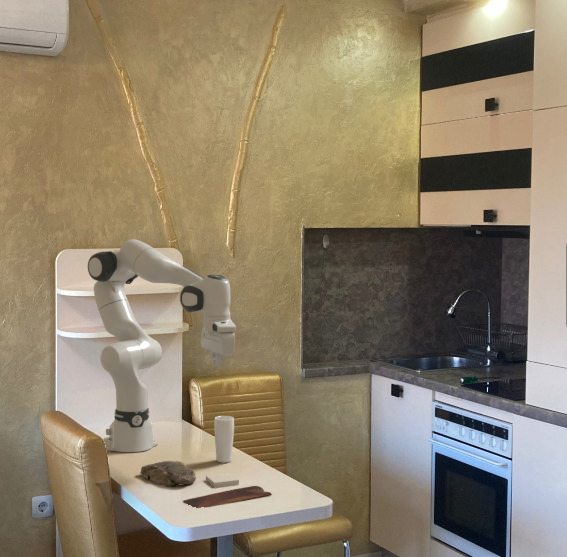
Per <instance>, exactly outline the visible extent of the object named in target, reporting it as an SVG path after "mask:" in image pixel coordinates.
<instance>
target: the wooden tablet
mask: <svg viewBox="0 0 567 557" xmlns="http://www.w3.org/2000/svg"><path fill="white" fill-rule="evenodd" d="M270 496H272V493H271V492H270V491H265V490H264V489H263V488H262V486H259V485H251V486H250V485H249V486H246V487H240V488H235V489H230V490H225V491H220V492H215V493H210V494H206V495H201V496H196V497H192V498H188V499H184V500H182V502H183V503H184V504H185V503H186V504H188V505H187V506H189V505H191V506H192V507H191V506H190V507H191V508H194V507H196V508H195V509H202V508H201V507H204V508H203V509H205V508H212V507H216V506H223V505H227V504H231V503H237V502H238V503H239V502H242V501H243V502H244V501H248V500H255V499H259V498H260V499H261V498H266V497H270ZM186 504H185V505H186Z"/></svg>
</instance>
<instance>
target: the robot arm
mask: <svg viewBox="0 0 567 557" xmlns="http://www.w3.org/2000/svg"><path fill="white" fill-rule="evenodd" d="M87 272H88V274H89V276H90V277H91V278H92V280H94V281H96V282H95V283H94V285H93V293H94V298H95V299H94V300H95V303H96V307H97V311H98V313H99V315H100V318H101V320H102V324H103V325H104V326H103V327H104V328H105V330H106V333H108V334H110V335H112V336H114V337H115V338H116V339H117V340H118V342H113V343H111V344H109V345H106V346H105V347H104V348H102V350H101V353H100V364H101V366H102V368H103V369H104V370H105V371H106V372H107V373H108V374H109V375H110V376H111V378H112V380H113V383H114V386H115V396H116V397H115V400H116V401H115V403H116V404H115V405H116V408H115V409H114V420H113V421H112V423H111V424H110V425H109V428H106V429H105V435H106V437H104V438H103V440H104V442H105V445H106V448H105V450H106V449H107V450H106V451H107V452H118V453H119V452H121V453H137V452H138V453H139V452H143V451H145V452H146V451H148V450H150V449H152V448H153V447H155V446H158V441H155V440H154V427H153V422H151V420H150V419H149V418H150V409H149V407H148V403H149V402H148V393H149V392H148V386H147V385H146V384H145V383H144V382H142V381H141V380H140V377H139V374H138V370H142V369H148V368H151V367H153V366H155V365H156V364H158V363H159V362H160V361H161V359H162V356H163V349H162V346H161V344H160V343H159V341H158V340H156V339H155V338H152V337H151V336H150V335H149V334H147V332H145V331H144V329H143V328H142V327H141V325H140V324H139V323H138V321H137V319H136V317H135V315H134V312H133V310H132V308H131V305H130V303H129V300H128V298H127V295H126V293H125V285H131V284H132V283H133V282H134V280H136V279H137V278H138V277H139V278H141V279H142V280H144V281H146V282H149V283H153V284H170V285H176V286H177V285H178V286H181V287H183V288H182V289H181V291H180V295H179V301H180V305H181V307H182V308H183V310H184V311H186V312H188V313H193V314H194V313H196V314H197V313H203V327H202V329H201V335H200V346H201V348H202V349H204V350H206V351H209V352H210V355H211V359H212V365H213V366H215V367H221V365H222V360H223V357H227V356H229V357H230V356H233V355H234V353H235V348H236V345H235V344H236V342H235V341H236V335H235V334H236V333H235V332H236V331H237V326H236V324H235V323H234V322H233V320H232V319H231V312H230V306H231V302H232V301H231V300H232V299H231V296H232V295H231V294H232V293H231V284H230V281H229V279H228V278H227V277H225V276H224V275H220V274H208V275H207V274H206V276H205V277H203V276H202V275H200V274H198V273H197V272H194V271H193V270H191V269H189V268H187V267H186V266H184V265H182V264H180V263H178V262H177V261H174V260H173V259H172V258H169V257H168V256H167V255H165V254H163V253H162V252H160V251H158V249H156V248H154V247H153V246H152V245H149V244H148V243H145V242H144V241H141V240H138V239H134V238H132V239H131V238H130V239H128V240H126V241H125V242H123V244H122V245H121V246H120V249H115V250H110V251H108V250H107V251H99V252H96V253H94V254H93V255H90V257H89V259H88V260H87ZM103 440H102V441H103ZM104 442H103V443H104ZM105 445H104V446H105Z"/></svg>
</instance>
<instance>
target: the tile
mask: <svg viewBox="0 0 567 557" xmlns="http://www.w3.org/2000/svg"><path fill="white" fill-rule="evenodd" d="M206 480H207V481H208V482H209V483H208V482H207V481H206ZM205 481H206V482H207V483H208V484H210V485H211V484H212V485H213V486H214V487H213V486H212V485H211V486H212V487H213V488H215V487H216V488H222V487H221V486H224V487H231V486H238V485H237V484H239V483H240V480H239V479H238V478H237V477H236V476H234V475H233V474H232V473H230V472H225V473H217V474H208V475H205ZM230 485H231V486H230ZM239 485H240V484H239Z"/></svg>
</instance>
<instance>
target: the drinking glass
mask: <svg viewBox="0 0 567 557" xmlns="http://www.w3.org/2000/svg"><path fill="white" fill-rule="evenodd" d="M213 422H214V423H213V424H214V427H213V428H214V429H213V431H214V444H215V458H216V460H215V461H216V462H218V463H222V464H227V463H231V462H232V460H233V447H234V446H233V445H234V435H235V418H234V416H231V415H217V416H215V417H214V421H213Z"/></svg>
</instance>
